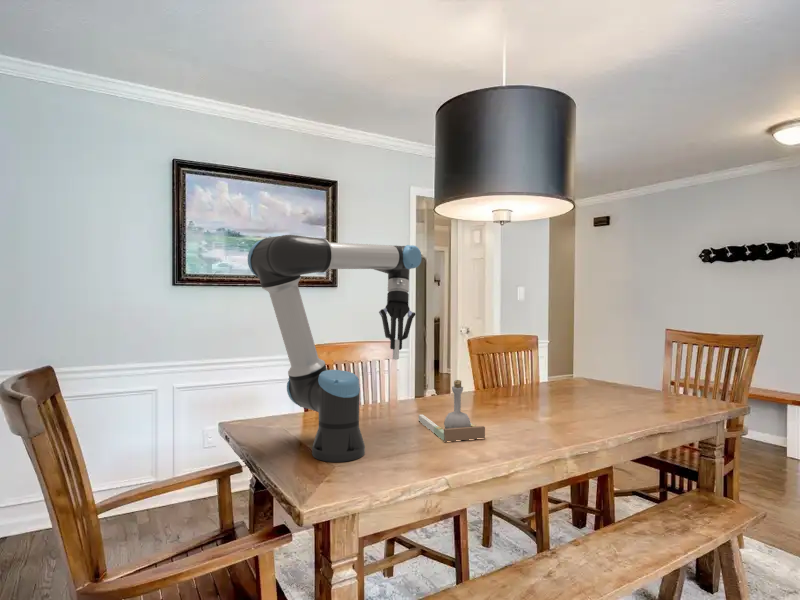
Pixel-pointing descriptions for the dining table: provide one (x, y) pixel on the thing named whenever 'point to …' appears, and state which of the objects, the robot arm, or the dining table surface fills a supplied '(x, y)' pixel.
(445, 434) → the slot track
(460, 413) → the potion bottle
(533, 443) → the dining table surface
